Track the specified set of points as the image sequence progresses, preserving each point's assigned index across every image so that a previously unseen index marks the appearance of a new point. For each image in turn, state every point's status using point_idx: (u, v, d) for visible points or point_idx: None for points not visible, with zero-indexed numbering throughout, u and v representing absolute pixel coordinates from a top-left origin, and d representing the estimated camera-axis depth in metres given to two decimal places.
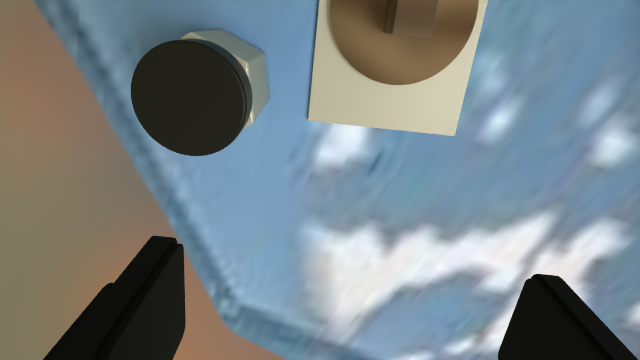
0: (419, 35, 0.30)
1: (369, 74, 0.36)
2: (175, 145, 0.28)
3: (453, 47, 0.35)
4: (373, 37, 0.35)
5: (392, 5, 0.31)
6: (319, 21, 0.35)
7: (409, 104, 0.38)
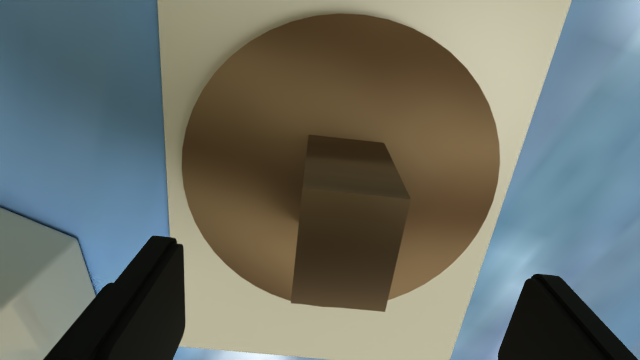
0: (357, 305, 0.12)
1: (277, 290, 0.18)
2: None
3: (444, 249, 0.17)
4: (279, 231, 0.17)
5: None
6: (171, 193, 0.17)
7: (362, 324, 0.20)
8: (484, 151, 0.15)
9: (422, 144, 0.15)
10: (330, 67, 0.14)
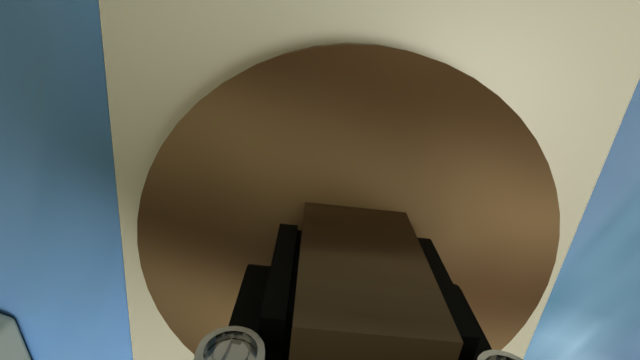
0: None
1: None
2: None
3: None
4: None
5: None
6: (129, 267, 0.13)
7: None
8: (539, 223, 0.11)
9: (456, 214, 0.11)
10: (334, 116, 0.10)
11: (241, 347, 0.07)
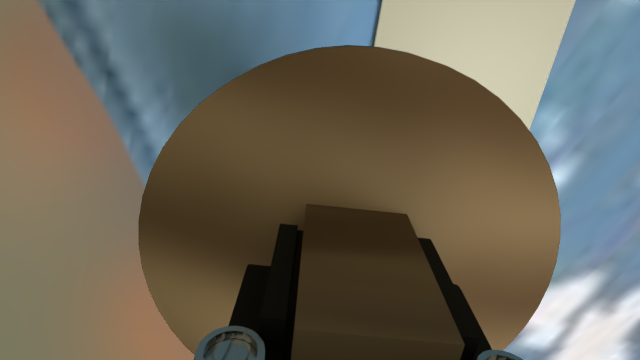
0: None
1: None
2: None
3: None
4: None
5: None
6: None
7: None
8: (540, 225, 0.11)
9: (457, 216, 0.11)
10: (335, 118, 0.10)
11: (241, 347, 0.07)
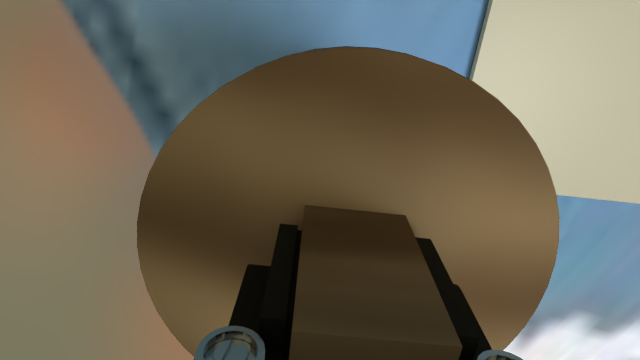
0: None
1: None
2: None
3: None
4: None
5: None
6: (483, 48, 0.24)
7: (591, 162, 0.27)
8: (538, 226, 0.11)
9: (456, 217, 0.11)
10: (333, 119, 0.10)
11: (241, 347, 0.07)
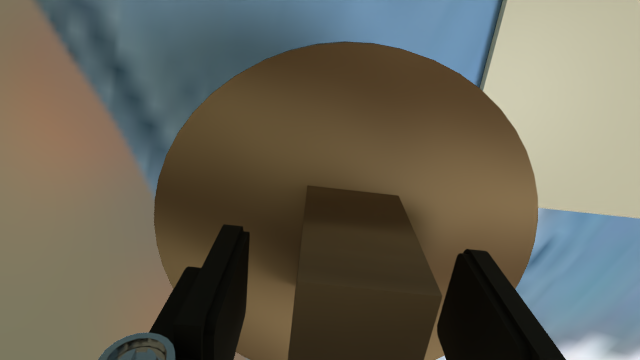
0: None
1: None
2: None
3: None
4: (272, 295, 0.14)
5: None
6: (495, 55, 0.22)
7: (611, 176, 0.25)
8: (519, 206, 0.13)
9: (444, 198, 0.13)
10: (334, 106, 0.11)
11: (148, 354, 0.07)
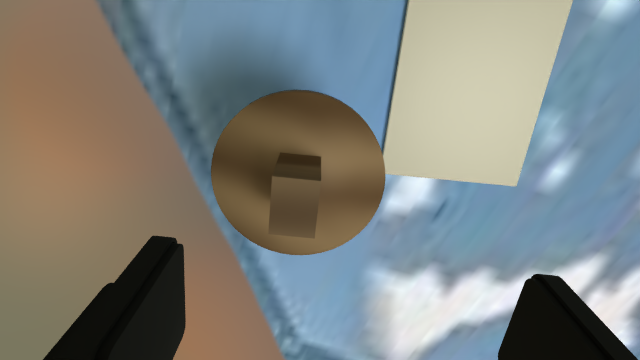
0: (300, 235, 0.25)
1: (264, 244, 0.31)
2: None
3: (360, 217, 0.30)
4: (265, 207, 0.29)
5: None
6: (396, 85, 0.38)
7: (475, 158, 0.41)
8: (375, 161, 0.28)
9: (341, 157, 0.28)
10: (290, 117, 0.27)
11: None
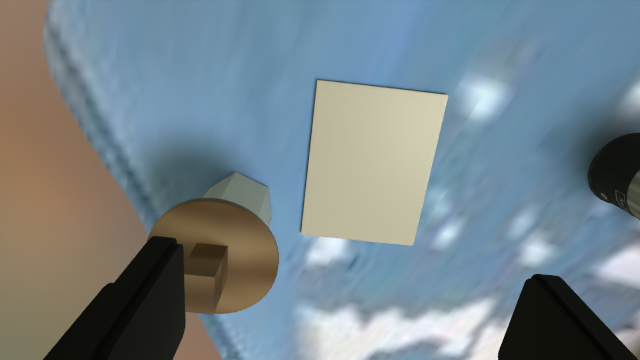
0: (203, 312, 0.34)
1: None
2: None
3: (261, 287, 0.39)
4: None
5: None
6: (309, 168, 0.47)
7: (378, 223, 0.50)
8: (269, 249, 0.37)
9: (243, 246, 0.37)
10: (202, 219, 0.36)
11: None
